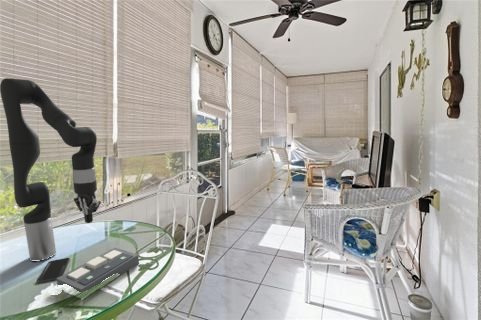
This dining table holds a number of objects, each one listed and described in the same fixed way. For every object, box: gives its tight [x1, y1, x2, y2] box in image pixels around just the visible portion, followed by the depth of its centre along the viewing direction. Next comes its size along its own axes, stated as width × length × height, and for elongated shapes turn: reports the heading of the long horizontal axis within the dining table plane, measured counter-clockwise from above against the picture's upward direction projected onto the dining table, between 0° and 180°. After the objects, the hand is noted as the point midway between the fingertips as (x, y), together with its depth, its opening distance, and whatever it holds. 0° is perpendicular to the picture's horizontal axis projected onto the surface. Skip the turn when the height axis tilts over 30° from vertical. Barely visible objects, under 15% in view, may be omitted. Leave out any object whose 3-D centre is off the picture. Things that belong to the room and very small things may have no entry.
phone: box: [36, 257, 71, 284], centre depth 103 cm, size 8×1×15 cm
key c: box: [103, 250, 122, 261], centre depth 106 cm, size 5×5×2 cm
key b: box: [85, 255, 107, 270], centre depth 100 cm, size 5×5×2 cm
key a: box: [68, 267, 90, 281], centre depth 93 cm, size 5×5×2 cm
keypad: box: [56, 247, 140, 292], centre depth 99 cm, size 14×24×4 cm, turn 154°
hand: (89, 222), depth 101 cm, fingers closed
